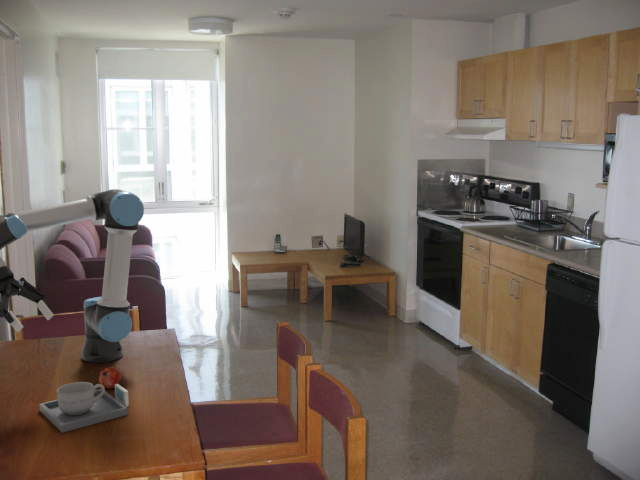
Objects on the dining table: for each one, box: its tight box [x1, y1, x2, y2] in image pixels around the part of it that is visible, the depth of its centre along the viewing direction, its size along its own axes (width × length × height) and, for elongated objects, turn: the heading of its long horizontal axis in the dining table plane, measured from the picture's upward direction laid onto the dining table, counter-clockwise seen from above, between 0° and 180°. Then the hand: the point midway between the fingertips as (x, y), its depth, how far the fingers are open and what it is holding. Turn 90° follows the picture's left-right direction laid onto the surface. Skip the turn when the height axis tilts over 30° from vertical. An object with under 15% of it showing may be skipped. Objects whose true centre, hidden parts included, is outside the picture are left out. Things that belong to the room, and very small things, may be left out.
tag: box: [114, 383, 130, 408], centre depth 221 cm, size 1×8×5 cm, turn 39°
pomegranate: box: [98, 365, 122, 390], centre depth 234 cm, size 7×7×10 cm
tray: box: [38, 388, 129, 433], centre depth 214 cm, size 20×20×2 cm
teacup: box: [56, 381, 106, 415], centre depth 213 cm, size 14×11×8 cm
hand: (36, 323), depth 221 cm, fingers open, 13 cm apart
